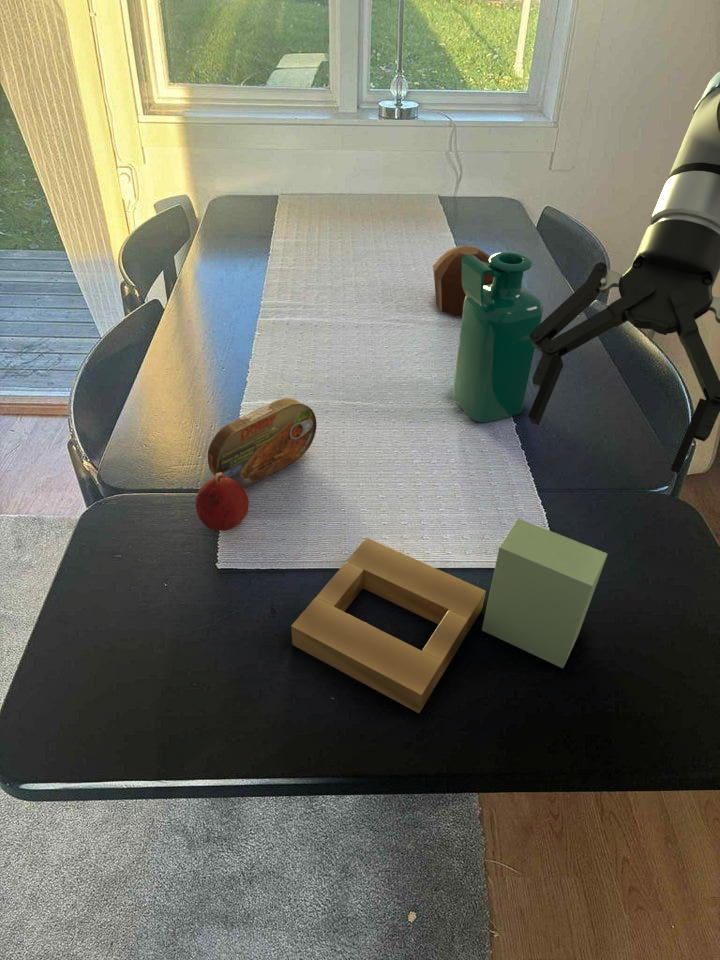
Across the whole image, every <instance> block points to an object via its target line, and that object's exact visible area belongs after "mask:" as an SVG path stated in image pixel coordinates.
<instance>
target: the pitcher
mask: <svg viewBox="0 0 720 960" xmlns="http://www.w3.org/2000/svg"><path fill="white" fill-rule="evenodd" d="M532 266H533V262H532V260H531V258H530V257H528V256H527V255H525V254H522V253H519V252H513V251H501V252H496V253H493V254H491V256H490V258H489V263H486V262H481V261H480V260H479V259H477V258H476V257H475V256H474V255H470V254H469V255H465V256H464V257H462V287H463V290H464V292H465V294H466V297H465V299H464V305H463V313H462V317H461V322H460V330H459V338H458V346H457V354H456V362H455V371H454V379H453V386H452V395H451V396H452V399H453V400H454V402H455V403H457V405H458V406H459V407H460V408H461V409H462V411H464V413H465V414H466V415H467V416H468V418H470V419H471V420H473V421H475V422H479V423H489V422H493V421H497V420H498V421H499V420H501V419H505V418H510V417H514V416H518V415H519V414H520V413H522V411H523V409H524V406H525V402H526V398H527V397H526V396H527V391H528V386H529V381H530V378H531V372H532V367H533V364H534V363H533V362H534V358H535V353H536V350H537V349H536V348H534V346H533V344H532V342H531V339H530V333H531V332H532V331H533V330H534V329H535V328H536V327H537V326H538V325H540V324H541V323H542V318H543V315H544V307H543V304H542V302H541V300H540V299H539V298H538V297H537V296H535V295H534V294H532V293H531V292H530V291H528V290H527V289H526V288H525V287H523V285H522V284H523V278H524V272H526V271H528V270H530V269H531V268H532ZM487 273H490V274H491V275H492V276H493V282H492V284H490V285H484V286H483V284H484V274H487Z"/></svg>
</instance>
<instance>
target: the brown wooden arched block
mask: <svg viewBox="0 0 720 960" xmlns="http://www.w3.org/2000/svg"><path fill="white" fill-rule="evenodd" d="M469 254H470V255H474V256H475V257H476V258H477V259H479V260H480V261H481V262H486V263H489V258H490V257H491V256H490V255H489V254H488V253H487V252H485V251H484V250H483V249H482V248H479V247H477V246H474V245H469V244H468V245H458V246H455V247H452V248H450V249H448V250H446V251H445V252H444V253H443V254H442V255H441V256H440V257H439V258H438V259H437V260H436V262H435V263H434V264H433V265H432V269H433V270H432V271H433V279H434V281H433V282H434V293H435V305H436V306H437V307H438V308H439V309H440V311H441V313H444V314H448V315H451V316H453V317H455V318H458V317H459V318H460V317H461V318H462V313H463V305H464V299H465V297H466V294H465V292H464V290H463V287H462V257H464V256H465V255H469ZM492 282H493V276H492V275H491V274H490V273H487V274H484V284H483V286H484V285H490V284H492Z"/></svg>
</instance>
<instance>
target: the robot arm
mask: <svg viewBox="0 0 720 960" xmlns="http://www.w3.org/2000/svg"><path fill="white" fill-rule="evenodd" d="M649 224H650V225H649V226H648V227H647V228H646V230H645V232H644V234H643V237H642V238H641V241H640V244H639V246H638V249H637V252H636V253H635V256H634V259H633V261H632V263H631V265H630V267H629V268H628V270H627V271H626V272H624V273H623V274H622V273H619V272H617V271H615V270H612V269H609V268H608V264H606V263H605V262H601V261H600V262H597V263H596V264H595V265H594V266H593V267H592V270H591V272H590V274H589V276H588V278H587V279H586V281H584V282H583V284H581V286H580V287H579V288H577V289H576V290H575V291H574V292H573V293H572V294H571V295H570V296H569V297H567V298H566V299H565V300H564V301H563V302H562V303H561V304H560V305H559V306H558V307H557V308H555V309H554V311H552V312H551V313H550V314H549V315H547V317H546V318H545V319H544V320H543V321H541V324H540V325H538V326H537V327H536V328H535V329H534V330H533V331H532V332H531V333H530V339H531V342H532V344H533V346H534V348H536V349H535V350H538V351H539V352H540V353H541V357H540V359H539V361H538V363H537V366H536V368H535V371H534V374H533V375H532V376H533V377H532V385H533V387H534V388H535V389H538V391H537V393H536V396H535V398H534V401H533V403H532V405H531V407H530V411H529V413H528V415H527V418H528V420H529V421H530V423H531V424H532V425H537V426H539V425H540V423H541V420H542V419H543V416H544V414H545V411H546V409H547V406H548V403H549V401H550V399H551V396H552V394H553V391H554V390H555V387H556V384H557V382H558V380H559V377H560V374H561V372H562V370H563V368H564V362H563V359H562V357H563V356H565V355H568V353H570V352H573V351H574V350H576V349H577V348H579V347H581V346H583V345H585V344H586V343H588V342H590V341H592V340H593V339H595V338H597V337H598V336H600V335H602V334H604V333H606V332H607V331H609V330H611V329H613V328H617V327H619V326H621V325H623V324H624V323H627V322H630V324H632V325H633V327H634V328H637V329H642V330H652V331H653V332H655V333H657V334H659V335H664V336H667V335H668V334H669V335H670V334H674V333H676V334H677V337H678V338H679V341H680V344H681V345H682V347H683V349H684V351H685V354H686V356H687V358H688V360H689V363H690V365H691V367H692V370H693V373H694V375H695V377H696V379H697V382H698V384H699V387H700V389H701V391H702V394H703V396H704V398H705V399H704V398H702V397H699V400H698V402H697V405H696V408H695V410H694V412H693V414H692V417H691V419H690V422H689V424H688V426H687V428H686V432H685V433H684V436H683V439H682V441H681V443H680V445H679V448H678V450H677V452H676V455H675V458H674V460H673V463H672V465H671V467H670V471H671V472H674V473H677V474H679V473H680V471H681V469H682V467H683V464H684V462H685V459H686V458H687V455H688V452H689V450H690V447H691V446H692V442H693V440H698V441H701V442H706V441H707V440H708V439H709V437H710V436H711V434H712V431H713V429H714V427H715V424H716V423H717V419H718V417H719V414H720V377H719V376H718V373H717V370H716V369H715V366H714V364H713V362H712V359H711V356H710V355H709V352H708V350H707V347H706V345H705V343H704V340H703V337H702V336H701V333H700V331H699V326H698V323H697V321H696V320H698V319H699V318H700V317H702V316H703V315H706V314H707V313H708V312H709V311H710V312H712V313H713V314H714V320H715V321H716V322H717V323H718V324H720V297H717V296H714V295H713V287H714V285H715V283H716V280H717V278H718V276H719V272H720V71H718V72H717V73H716V74H715V75H714V76H713V77H712V78H710V81H709V82H708V84H707V86H706V88H705V90H704V92H703V94H702V96H701V98H700V99H699V101H698V102H697V103H696V104H695V107H694V109H693V112H692V115H691V119H690V123H689V126H688V127H687V131H686V133H685V134H684V138H683V140H682V143H681V145H680V148H679V150H678V152H677V155H676V158H675V160H674V162H673V165H672V167H671V170H670V173H669V175H668V178H667V179H666V182H665V184H664V186H663V189H662V190H661V193H660V195H659V198H658V200H657V203H656V205H655V207H654V210H653V212H652V214H651V217H650V220H649ZM612 288H618V292H619V295H620V298H617V299H616V300H615V301H613V302H611V303H610V304H609V305H608V306H607V307H606V308H604V309H603V310H600V311H599V312H597V313H596V314H594V315H592V316H591V317H588V318H587V319H585V320H583V321H582V322H580V323H578V324H576V325H575V326H573V327H571V328H570V329H567V330H566V331H564V332H563V333H561V332H562V331H563V330H564V329H565V328H566V327H567V326H568V325H569V324H571V323H572V322H573V321H574V320H575V319H576V318H577V317H578V316H580V314H582V313H583V312H584V311H585V310H586V309H587V308H588V307H589V306H590V305H591V304H592V303H593V302H595V300H596V299H597V298H598V297H599V296H600V294H605V293H608V292H609V291H610V290H611V289H612ZM559 333H561V334H559ZM558 334H559V335H558Z"/></svg>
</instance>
